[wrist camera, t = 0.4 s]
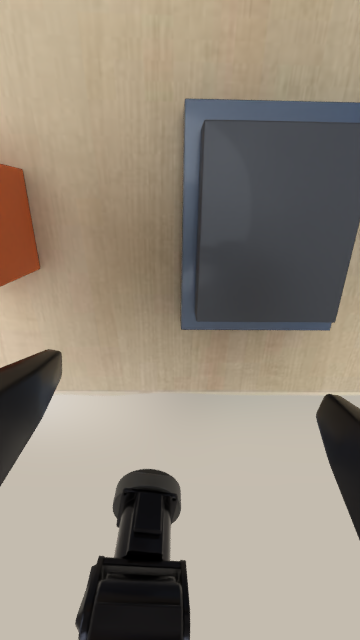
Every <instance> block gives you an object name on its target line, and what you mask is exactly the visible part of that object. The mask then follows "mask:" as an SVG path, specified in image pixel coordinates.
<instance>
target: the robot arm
mask: <svg viewBox="0 0 360 640" xmlns="http://www.w3.org/2000/svg"><path fill="white" fill-rule="evenodd" d="M61 375H62V354H61V352H60V351H56V350H50V349H48V350H45V351H42V352H40V353H37V354H35V355H32V356H30V357H27V358H25V359H22V360H19V361H17V362H14V363H12V364H9V365H7V366H4V367H2V368H0V486H1V484H2V483H3V481H4V480H5V478H6V476H7V475H8V473H9V471H10V470H11V468H12V467H13V465H14V463H15V462H16V460H17V458H18V457H19V455H20V454H21V452H22V450H23V449H24V447H25V445H26V444H27V442H28V441H29V439H30V437H31V435H32V434H33V432H34V431H35V429H36V427H37V426H38V424H39V423H40V421H41V419H42V417H43V415H44V413H45V411H46V409H47V406H48V404H49V402H50V400H51V398H52V396H53V394H54V392H55V390H56V387H57V385H58V383H59V381H60V379H61ZM316 418H317V423H318V426H319V429H320V433H321V436H322V440H323V443H324V447H325V451H326V454H327V457H328V460H329V463H330V466H331V469H332V471H333V474H334V476H335V479H336V481H337V484H338V486H339V489H340V491H341V494H342V497H343V499H344V502H345V504H346V506H347V509H348V511H349V514H350V517H351V519H352V522H353V524H354V527H355V529H356V532H357V535H358V537H359V540H360V409H359V408H358V407H356V406H355V405H353V404H352V403H350V402H348V401H347V400H345V399H344V398H342V397H341V396H338V395H332V394H327V395H326V396H325V397H324V398H323V400H322V403H321V405H320V407H319V409H318V411H317V414H316ZM177 502H178V495H177V494H175V493H167V492H158V491H150V490H141V489H132V488H124V489H123V490H122V494H121V500H120V506H119V513H118V519H117V527H119V532H118V538H117V544H116V550H115V556H114V558H108V557H104V556H99V558H98V561H97V564H96V565H94V566H92V568H91V572H90V576H89V580H88V584H87V588H86V591H85V594H84V597H83V600H82V603H81V606H80V608H79V612H78V614H77V618H76V623H75V624H76V627H77V629H78V632H79V640H190V606H189V594H188V582H187V571H186V561H185V560H181V561H170V530H171V524H172V520H173V517H174V513H175V509H176V506H177Z"/></svg>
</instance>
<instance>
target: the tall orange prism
mask: <svg viewBox="0 0 360 640" xmlns="http://www.w3.org/2000/svg"><path fill="white" fill-rule="evenodd" d="M38 269H40V266H39V260H38V255H37V249H36V243H35V238H34V232H33V227H32V221H31V215H30V210H29V204H28V199H27V193H26V187H25V182H24V176H23V171H22V169H19V168H15V167H11V166H7V165H3V164H0V286H3V285H5V284H7V283H9V282H11V281H14V280H16V279H18V278H20V277H23V276H25V275H27V274H29V273H32V272H34V271H36V270H38Z"/></svg>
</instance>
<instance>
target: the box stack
mask: <svg viewBox="0 0 360 640" xmlns="http://www.w3.org/2000/svg"><path fill="white" fill-rule="evenodd" d="M359 222H360V103H354V102H311V101H267V100H224V99H185V105H184V143H183V206H182V269H181V329H182V330H330V327H331V323H332V322H335V320H336V316H337V312H338V308H339V304H340V300H341V296H342V292H343V287H344V283H345V279H346V275H347V271H348V267H349V263H350V259H351V255H352V251H353V247H354V242H355V238H356V234H357V230H358V226H359Z"/></svg>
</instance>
